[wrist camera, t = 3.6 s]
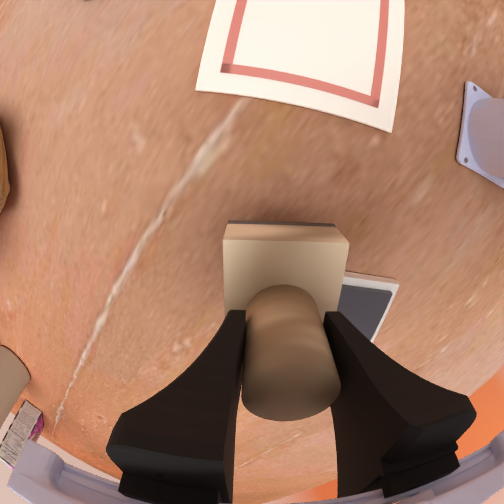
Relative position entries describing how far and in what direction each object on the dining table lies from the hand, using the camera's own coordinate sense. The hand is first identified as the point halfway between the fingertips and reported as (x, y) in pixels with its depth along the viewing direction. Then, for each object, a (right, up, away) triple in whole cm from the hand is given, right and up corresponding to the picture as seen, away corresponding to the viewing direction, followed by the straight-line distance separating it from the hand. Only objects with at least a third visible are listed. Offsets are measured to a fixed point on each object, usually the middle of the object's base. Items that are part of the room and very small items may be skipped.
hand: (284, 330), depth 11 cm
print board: (+3, +19, +3) cm, 20 cm away
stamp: (0, +1, +3) cm, 3 cm away
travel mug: (-41, -15, +19) cm, 48 cm away
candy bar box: (-48, -32, +26) cm, 63 cm away
